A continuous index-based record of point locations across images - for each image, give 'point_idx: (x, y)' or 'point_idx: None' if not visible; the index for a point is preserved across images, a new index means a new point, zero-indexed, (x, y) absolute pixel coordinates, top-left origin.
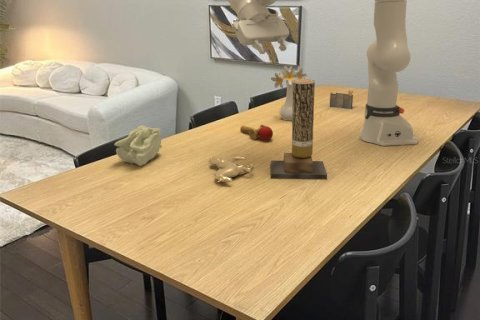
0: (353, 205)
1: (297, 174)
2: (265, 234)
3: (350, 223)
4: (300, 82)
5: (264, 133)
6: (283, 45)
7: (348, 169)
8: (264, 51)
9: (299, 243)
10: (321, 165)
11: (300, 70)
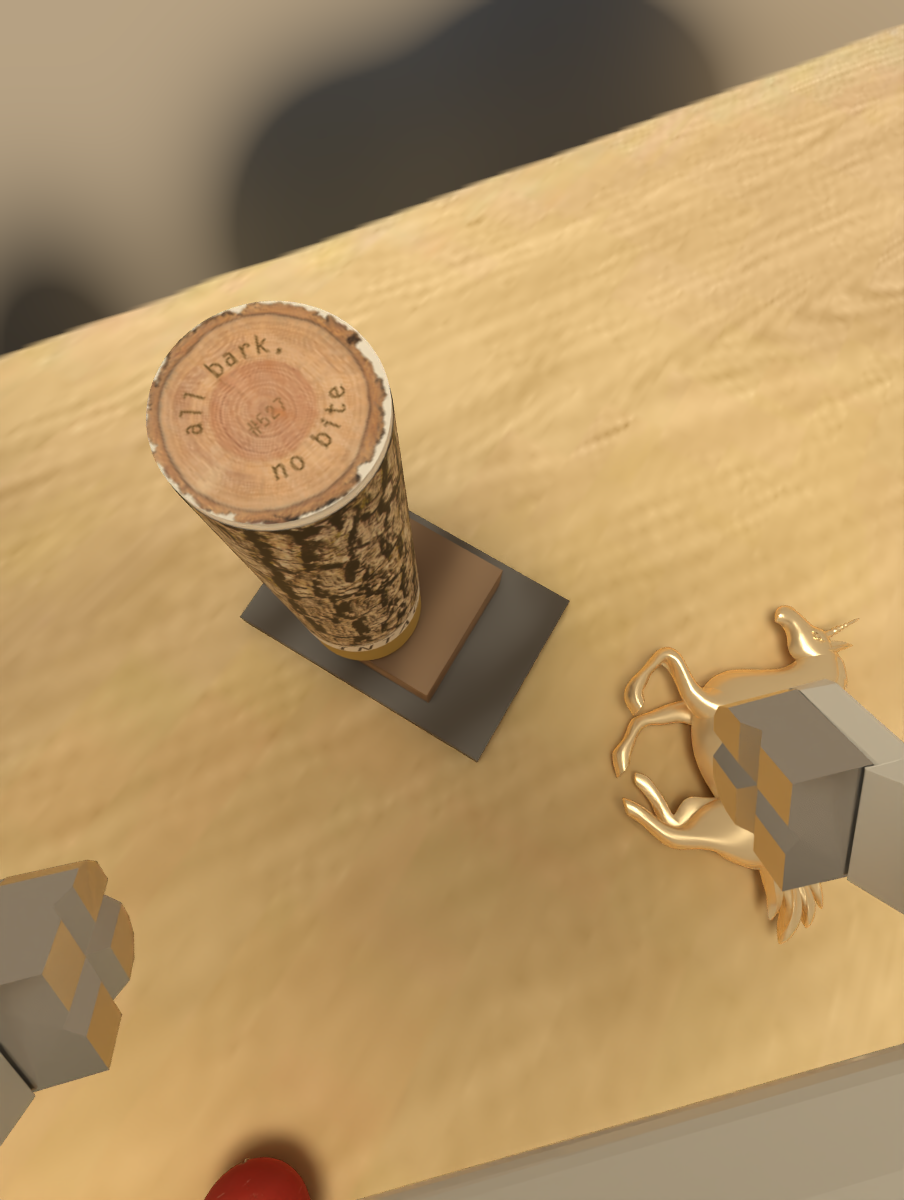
0: (413, 267)
1: (457, 538)
2: (791, 251)
3: (507, 190)
4: (364, 350)
5: (287, 1188)
6: (15, 931)
7: (177, 520)
8: (765, 697)
9: (717, 175)
10: None
11: None
